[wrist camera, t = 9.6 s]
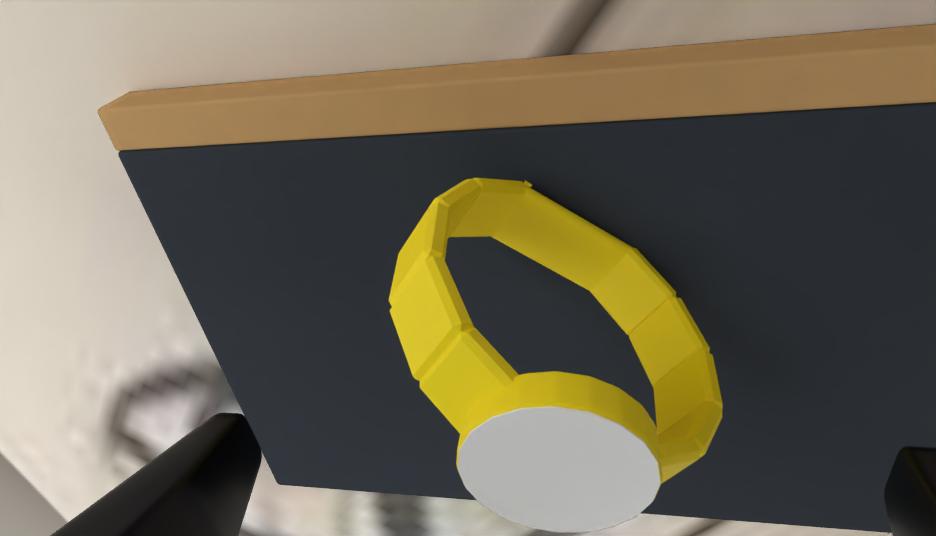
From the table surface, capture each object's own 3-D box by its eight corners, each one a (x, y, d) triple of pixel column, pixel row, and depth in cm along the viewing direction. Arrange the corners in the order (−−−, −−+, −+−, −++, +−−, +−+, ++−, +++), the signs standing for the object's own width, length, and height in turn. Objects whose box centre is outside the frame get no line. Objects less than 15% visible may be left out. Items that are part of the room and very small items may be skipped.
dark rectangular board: (1195, 0, 10) (1259, 18, 9) (950, 500, 17) (970, 540, 16) (129, 91, 14) (94, 109, 13) (292, 456, 21) (277, 485, 20)
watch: (415, 210, 13) (308, 422, 9) (481, 108, 12) (395, 298, 7) (638, 344, 14) (653, 601, 10) (725, 267, 13) (798, 529, 8)
